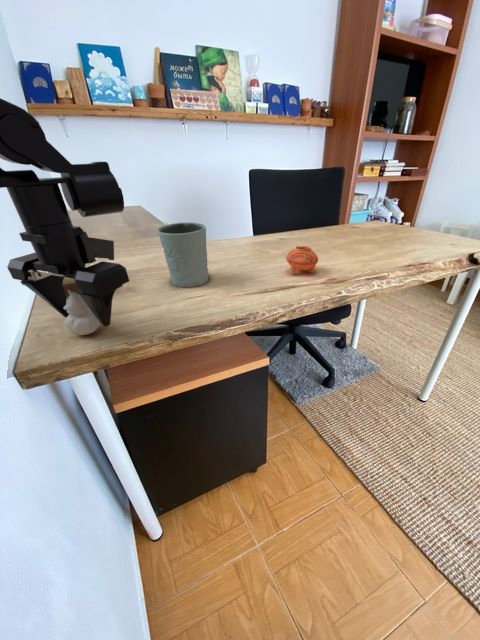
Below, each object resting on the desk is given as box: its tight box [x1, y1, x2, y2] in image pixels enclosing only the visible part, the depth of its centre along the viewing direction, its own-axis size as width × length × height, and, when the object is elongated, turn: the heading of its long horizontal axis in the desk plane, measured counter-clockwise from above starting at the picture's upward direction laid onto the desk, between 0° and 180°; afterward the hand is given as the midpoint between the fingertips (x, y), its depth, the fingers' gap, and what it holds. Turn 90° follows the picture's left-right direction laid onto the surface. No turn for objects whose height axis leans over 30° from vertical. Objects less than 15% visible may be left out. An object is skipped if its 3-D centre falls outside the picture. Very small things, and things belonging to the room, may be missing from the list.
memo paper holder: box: [63, 263, 91, 298], centre depth 64 cm, size 9×9×6 cm
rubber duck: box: [64, 290, 102, 336], centre depth 49 cm, size 5×7×8 cm
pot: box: [285, 245, 319, 275], centre depth 72 cm, size 8×8×7 cm
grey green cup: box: [157, 221, 209, 288], centre depth 66 cm, size 10×10×12 cm
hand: (87, 320), depth 50 cm, fingers open, 9 cm apart
